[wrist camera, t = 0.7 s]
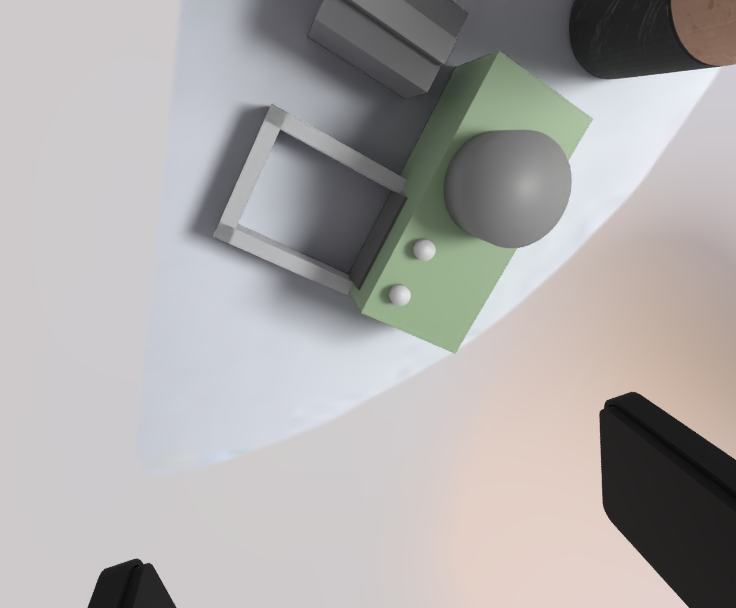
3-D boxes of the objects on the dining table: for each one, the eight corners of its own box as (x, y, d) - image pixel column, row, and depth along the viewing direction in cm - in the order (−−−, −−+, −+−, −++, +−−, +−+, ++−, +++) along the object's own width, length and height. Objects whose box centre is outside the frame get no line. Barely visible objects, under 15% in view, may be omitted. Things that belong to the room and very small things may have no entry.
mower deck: (326, -22, 27) (356, -92, 19) (536, 122, 33) (630, 116, 24) (215, 230, 30) (199, 265, 22) (423, 323, 36) (472, 378, 27)
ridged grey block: (341, -40, 27) (357, -76, 23) (438, 31, 29) (472, 11, 25) (306, 36, 28) (316, 16, 23) (404, 99, 30) (430, 91, 26)
